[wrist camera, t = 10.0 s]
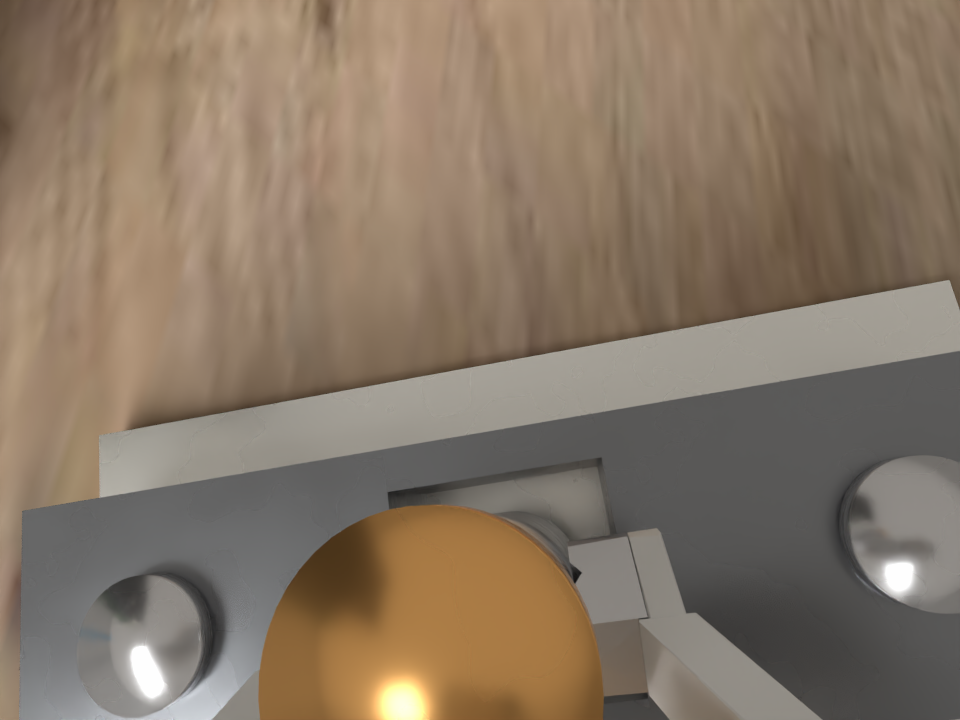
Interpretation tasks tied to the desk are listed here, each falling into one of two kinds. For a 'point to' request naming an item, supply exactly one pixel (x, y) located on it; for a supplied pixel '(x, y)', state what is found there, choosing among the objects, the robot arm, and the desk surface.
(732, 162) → the desk surface
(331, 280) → the desk surface
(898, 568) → the grey slotted bar
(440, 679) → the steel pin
